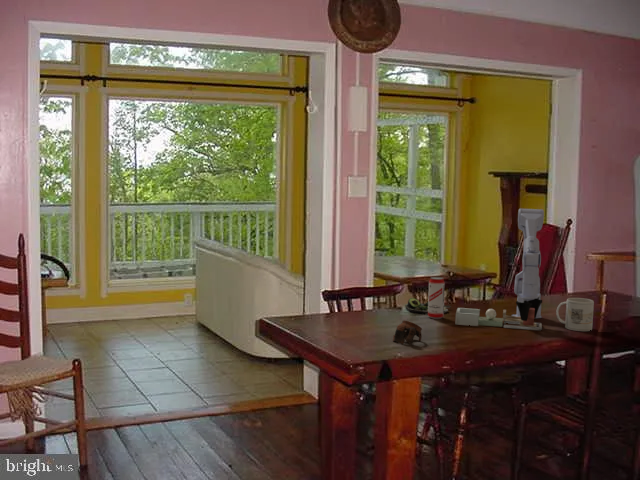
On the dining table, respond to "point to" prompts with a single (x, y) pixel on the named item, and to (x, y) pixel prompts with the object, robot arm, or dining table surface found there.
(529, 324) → the carriage
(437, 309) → the beer can
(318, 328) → the dining table surface
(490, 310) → the ball
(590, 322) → the mug
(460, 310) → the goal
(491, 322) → the track
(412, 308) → the salad plate
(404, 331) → the brown animal figurine
